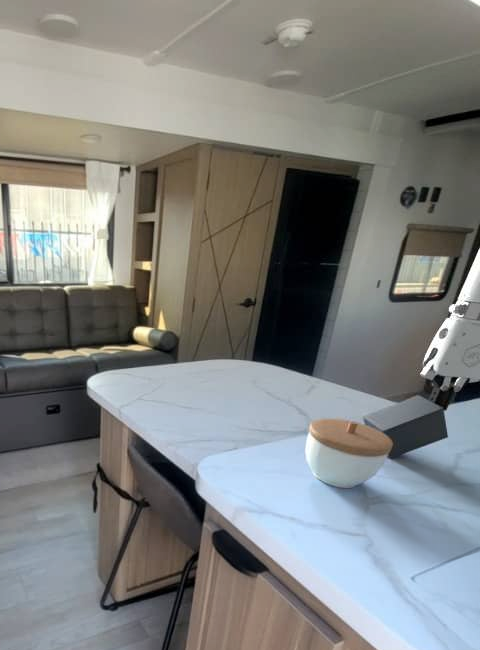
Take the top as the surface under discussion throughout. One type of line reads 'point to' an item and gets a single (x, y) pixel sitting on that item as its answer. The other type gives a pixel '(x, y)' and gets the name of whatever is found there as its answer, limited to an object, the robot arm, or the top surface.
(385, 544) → the top surface
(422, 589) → the top surface
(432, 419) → the dark grey brick
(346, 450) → the lidded bowl
